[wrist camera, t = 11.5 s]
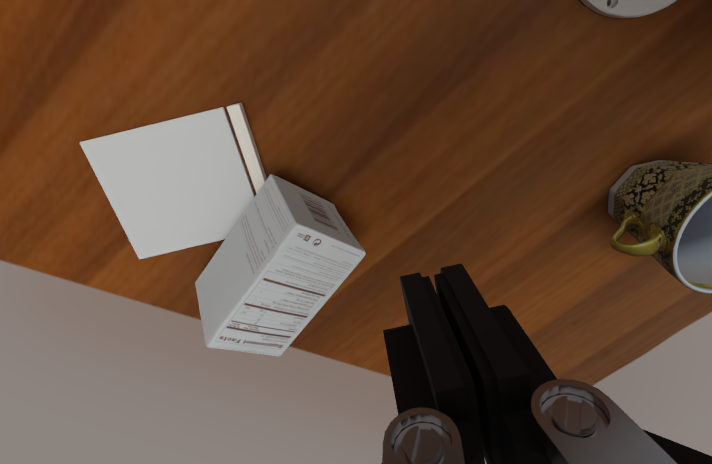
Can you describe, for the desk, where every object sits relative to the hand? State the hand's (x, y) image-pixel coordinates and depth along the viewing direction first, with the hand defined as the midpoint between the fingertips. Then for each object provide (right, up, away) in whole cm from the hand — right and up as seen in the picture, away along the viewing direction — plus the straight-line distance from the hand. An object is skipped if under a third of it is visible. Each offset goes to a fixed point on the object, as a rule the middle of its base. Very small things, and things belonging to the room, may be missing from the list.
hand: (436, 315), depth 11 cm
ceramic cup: (+24, +6, +27) cm, 37 cm away
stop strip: (-11, +8, +23) cm, 27 cm away
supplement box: (-5, +4, +20) cm, 21 cm away
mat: (-18, +6, +24) cm, 30 cm away
